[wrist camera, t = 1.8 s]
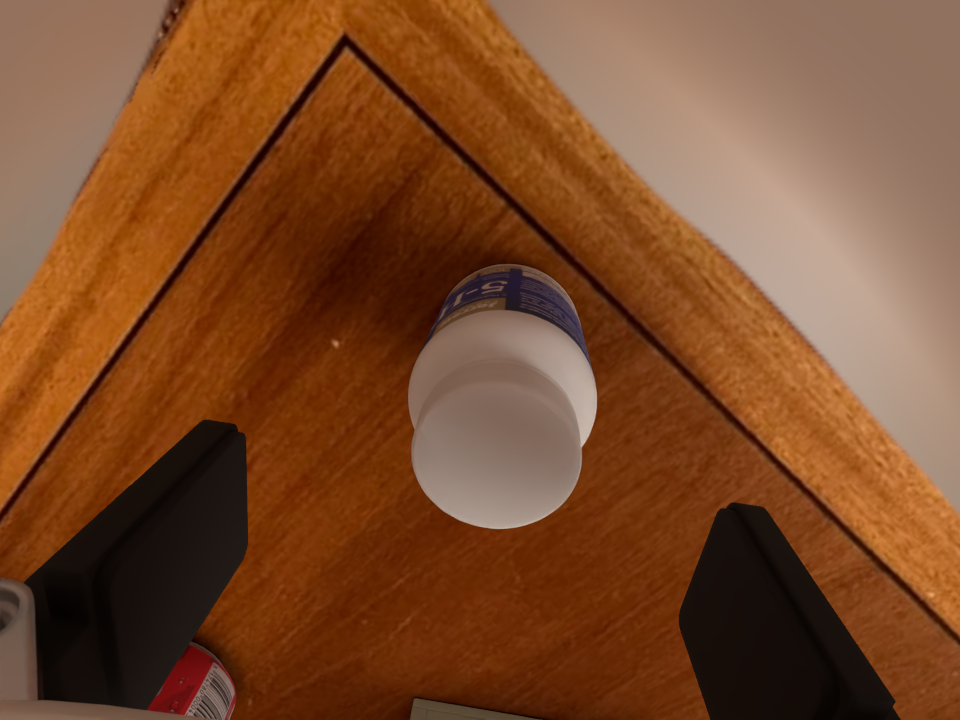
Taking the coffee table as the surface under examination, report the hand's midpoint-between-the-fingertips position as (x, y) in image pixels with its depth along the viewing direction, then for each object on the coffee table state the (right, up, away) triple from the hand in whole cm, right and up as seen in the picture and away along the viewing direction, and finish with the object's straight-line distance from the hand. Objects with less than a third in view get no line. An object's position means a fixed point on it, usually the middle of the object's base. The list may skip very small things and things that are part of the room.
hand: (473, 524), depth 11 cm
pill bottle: (+1, +4, +10) cm, 11 cm away
